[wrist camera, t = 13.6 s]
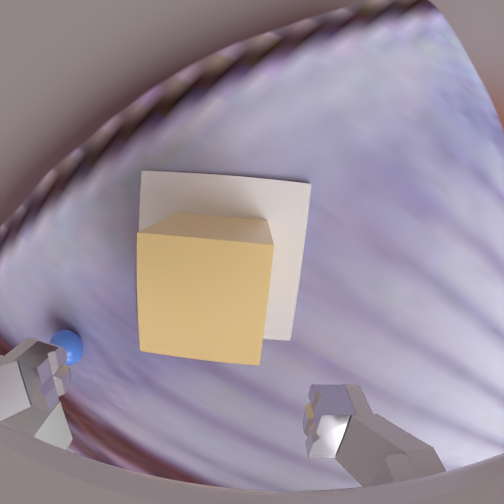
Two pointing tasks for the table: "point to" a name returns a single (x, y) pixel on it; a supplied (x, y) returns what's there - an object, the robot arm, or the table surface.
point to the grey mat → (243, 206)
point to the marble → (69, 345)
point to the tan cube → (204, 287)
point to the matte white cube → (43, 425)
